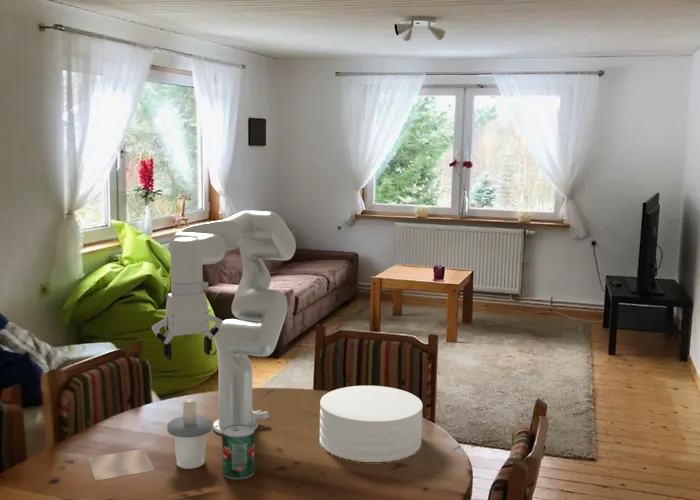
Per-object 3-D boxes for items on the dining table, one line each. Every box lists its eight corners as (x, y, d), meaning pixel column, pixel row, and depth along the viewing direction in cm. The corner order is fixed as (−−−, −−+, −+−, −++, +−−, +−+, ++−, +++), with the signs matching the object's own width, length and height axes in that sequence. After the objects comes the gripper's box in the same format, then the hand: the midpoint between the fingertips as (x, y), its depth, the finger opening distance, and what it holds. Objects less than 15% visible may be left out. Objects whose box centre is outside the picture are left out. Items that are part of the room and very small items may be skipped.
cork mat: (144, 452, 195) (144, 448, 195) (155, 474, 183) (155, 470, 183) (87, 461, 189) (87, 457, 189) (95, 484, 177) (95, 480, 177)
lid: (205, 417, 194) (205, 391, 193) (217, 432, 184) (217, 405, 183) (162, 424, 189) (162, 397, 188) (173, 440, 179) (172, 411, 178)
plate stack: (399, 419, 223) (400, 382, 222) (437, 457, 197) (439, 415, 195) (308, 428, 215) (308, 389, 213) (336, 469, 188) (336, 425, 187)
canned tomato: (260, 473, 185) (260, 431, 183) (233, 482, 179) (233, 439, 178) (242, 462, 190) (242, 421, 189) (216, 471, 185) (216, 429, 184)
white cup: (199, 474, 183) (198, 436, 182) (169, 471, 185) (168, 432, 183) (211, 461, 191) (211, 424, 189) (182, 458, 192) (182, 421, 191)
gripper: (216, 282, 189) (217, 348, 192) (147, 288, 181) (149, 355, 184) (226, 288, 183) (226, 355, 185) (154, 294, 175) (156, 364, 177)
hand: (188, 355), depth 185 cm, fingers open, 9 cm apart
